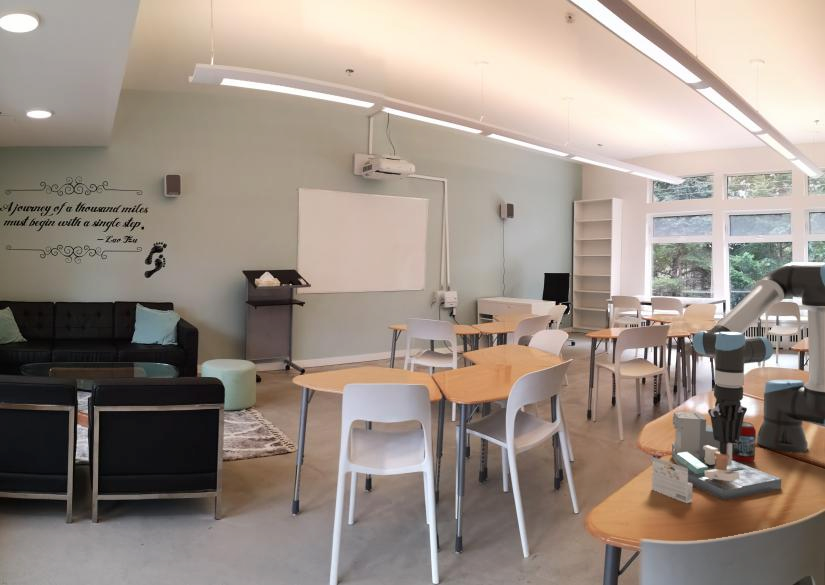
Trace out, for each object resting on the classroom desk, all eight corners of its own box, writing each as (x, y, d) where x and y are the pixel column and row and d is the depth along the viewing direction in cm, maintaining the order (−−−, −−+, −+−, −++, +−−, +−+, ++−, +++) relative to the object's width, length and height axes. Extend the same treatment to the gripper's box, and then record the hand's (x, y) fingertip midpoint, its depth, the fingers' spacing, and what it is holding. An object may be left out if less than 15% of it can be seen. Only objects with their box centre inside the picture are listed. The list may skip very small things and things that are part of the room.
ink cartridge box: (656, 488, 168) (657, 455, 167) (692, 502, 158) (693, 466, 158) (651, 490, 166) (651, 456, 166) (687, 504, 157) (688, 468, 156)
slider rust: (718, 467, 174) (719, 451, 174) (729, 472, 171) (729, 455, 170) (713, 468, 173) (714, 452, 173) (723, 472, 170) (724, 456, 170)
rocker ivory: (716, 475, 168) (715, 468, 168) (740, 478, 161) (739, 471, 161) (704, 477, 166) (703, 470, 167) (727, 481, 159) (726, 474, 159)
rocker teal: (686, 456, 178) (688, 451, 178) (707, 472, 171) (709, 466, 171) (674, 458, 177) (676, 453, 176) (695, 474, 169) (696, 468, 169)
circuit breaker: (725, 467, 184) (727, 420, 183) (677, 464, 187) (678, 417, 186) (718, 459, 192) (719, 414, 191) (671, 456, 194) (673, 411, 194)
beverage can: (732, 461, 189) (733, 425, 188) (729, 455, 195) (730, 420, 195) (756, 464, 187) (757, 427, 186) (752, 458, 193) (754, 422, 192)
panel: (723, 466, 185) (724, 456, 185) (783, 489, 166) (783, 478, 166) (669, 475, 177) (670, 465, 177) (725, 501, 159) (726, 489, 158)
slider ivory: (707, 461, 180) (708, 445, 179) (717, 465, 176) (718, 448, 176) (702, 461, 179) (703, 445, 179) (712, 465, 176) (713, 449, 175)
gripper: (733, 380, 177) (731, 457, 178) (701, 384, 172) (698, 462, 174) (756, 386, 170) (753, 465, 171) (723, 389, 165) (720, 471, 167)
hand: (725, 463), depth 172 cm, fingers closed
